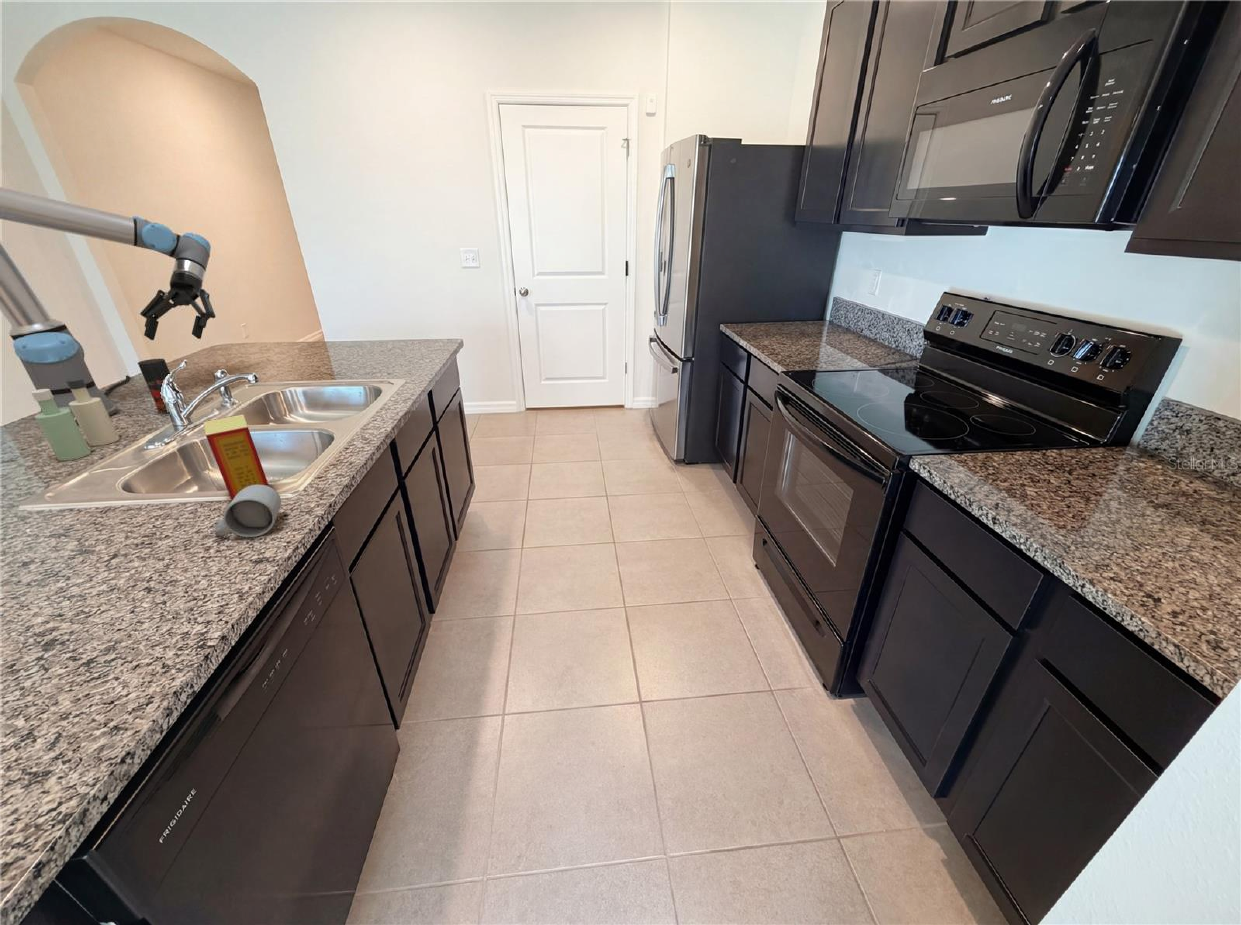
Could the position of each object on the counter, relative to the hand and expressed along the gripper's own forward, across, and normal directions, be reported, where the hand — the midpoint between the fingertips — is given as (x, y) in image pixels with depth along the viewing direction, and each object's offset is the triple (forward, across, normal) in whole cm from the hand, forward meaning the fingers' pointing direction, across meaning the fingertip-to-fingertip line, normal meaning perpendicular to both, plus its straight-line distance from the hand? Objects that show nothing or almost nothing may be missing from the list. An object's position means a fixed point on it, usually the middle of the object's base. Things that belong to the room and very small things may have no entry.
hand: (172, 337), depth 153 cm
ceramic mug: (+71, -61, +43) cm, 103 cm away
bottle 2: (+38, +1, +10) cm, 39 cm away
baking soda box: (+61, -54, +33) cm, 88 cm away
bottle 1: (+44, +1, +16) cm, 47 cm away
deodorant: (+22, 0, -6) cm, 23 cm away
